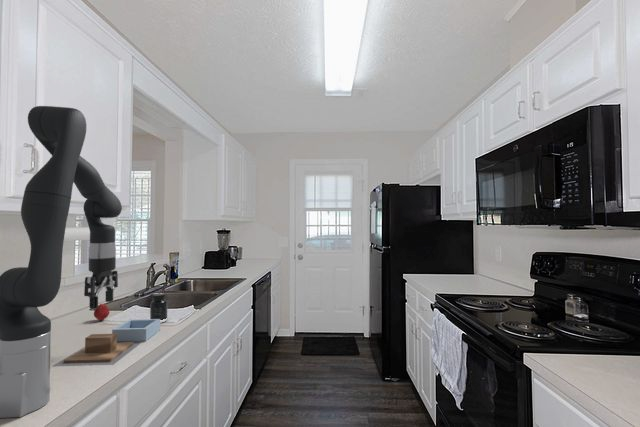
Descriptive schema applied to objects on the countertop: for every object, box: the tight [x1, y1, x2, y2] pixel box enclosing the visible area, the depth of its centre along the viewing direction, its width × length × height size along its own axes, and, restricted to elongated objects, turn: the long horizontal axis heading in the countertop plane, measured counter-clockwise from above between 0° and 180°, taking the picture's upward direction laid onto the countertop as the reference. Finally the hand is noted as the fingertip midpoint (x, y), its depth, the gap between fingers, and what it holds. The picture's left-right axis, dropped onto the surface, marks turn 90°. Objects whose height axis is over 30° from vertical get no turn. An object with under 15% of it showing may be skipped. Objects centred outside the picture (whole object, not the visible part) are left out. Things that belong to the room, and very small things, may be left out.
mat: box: [52, 342, 142, 367], centre depth 107 cm, size 18×18×1 cm
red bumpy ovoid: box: [93, 302, 110, 322], centre depth 144 cm, size 6×6×8 cm
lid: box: [64, 333, 134, 363], centre depth 107 cm, size 14×14×6 cm
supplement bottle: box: [149, 293, 168, 320], centre depth 143 cm, size 7×7×12 cm
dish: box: [111, 318, 161, 343], centre depth 124 cm, size 12×12×5 cm
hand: (101, 304), depth 108 cm, fingers open, 8 cm apart
